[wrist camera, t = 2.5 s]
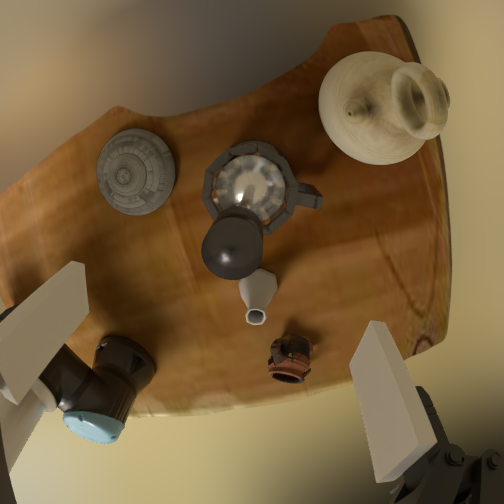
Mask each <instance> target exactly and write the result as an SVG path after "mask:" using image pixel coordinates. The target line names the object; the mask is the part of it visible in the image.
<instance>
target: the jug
mask: <svg viewBox="0 0 504 504" xmlns="http://www.w3.org/2000/svg"><path fill="white" fill-rule="evenodd" d="M449 106H450V97H449V93H448V90H447V88H446V86H445V84H444V83H443V81H442V80H441V79H439V78H437V77H436V76H435V75H434V73H433V72H432V71H431V70H429V69H428V68H427V67H425V66H423V65H421V64H419V63H415V62H407V63H405V62H403V61H402V60H400V59H398V58H396V57H394V56H391V55H389V54H385V53H381V52H373V51H366V52H359V53H355V54H352V55H350V56H347V57H345V58H343V59H342V60H340V61H339V62H338V63H336V64H335V65H334V66H333V67H332V68H331V69H330V70H329V71H328V73H327V74H326V76H325V78H324V80H323V82H322V84H321V88H320V92H319V114H320V118H321V122H322V124H323V127H324V129H325V131H326V133H327V134H328V136H329V137H330V138H331V140H332V141H333V142H334V143H335V144H336V145H337V146H338V147H339V148H340V149H341V150H342V151H343V152H345V153H346V154H347V155H349V156H351V157H352V158H354V159H356V160H359V161H361V162H364V163H368V164H375V165H386V164H393V163H397V162H400V161H403V160H405V159H407V158H409V157H410V156H412V155H413V154H414V153H415V152H417V151H418V150H419V149H420V148H421V146H422V145H423V144H424V142H425V141H426V139H432V138H434V137H436V136H437V135H439V134H440V133H441V131H442V130H443V128H444V127H445V124H446V121H447V115H448V108H449Z"/></svg>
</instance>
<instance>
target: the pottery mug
mask: <svg viewBox="0 0 504 504" xmlns="http://www.w3.org/2000/svg"><path fill="white" fill-rule="evenodd" d="M270 351H271V355H272V356H273V359H274V361H273V360H271V359H269V360H268V368H269V371H268V375H270V376H271V375H272V374H273V376H272V378H274V379H276V380H278V381H282V382H286V383H294V384H298V383H302V382H303V381H304V377H305V376H306V375H308V374H309V372H310V371H311V368H310V369H309V370H308V371H306V370H307V369H308V368H309V366H310V362H309V358H310V354H313V344H312V343H311V342H310V341H309V340H307V339H306V338H303V337H301V336H296V335H291V338H290V341H288V340H287V339H281V338H279V339H276V340H275V341H274V342H273V343H272V345H271V349H270ZM289 353H292V357H288V354H289ZM274 362H276V363H278V364H275V363H274ZM305 371H306V372H305Z"/></svg>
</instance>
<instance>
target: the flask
mask: <svg viewBox="0 0 504 504" xmlns="http://www.w3.org/2000/svg"><path fill="white" fill-rule="evenodd" d="M238 285H239V290H240V294H241V297H242V299H243V300H244V302H245V303H246V305H247V307H248V311H247V313H246V314H245V316H246V320H247V322H248V323H250V324H253V325H260V324H263V323H264V321H265V320H266V313H265V309H266V306H267V305H268V304H269V302H270V301H271V299H272V298H273V296H274V295H275V293H276V291H277V290H278V286H277V280H276V275H275V274H273V273H270V272H268V271H266V270H264V269H262V268H259V269H256V271H255V272H254V273H252V274H251V275H250V276H248V277H246V278H243V279H240V280H239V282H238Z"/></svg>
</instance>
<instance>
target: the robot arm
mask: <svg viewBox="0 0 504 504" xmlns="http://www.w3.org/2000/svg"><path fill="white" fill-rule="evenodd" d="M89 313H90V312H89V304H88V296H87V287H86V277H85V264H83V263H79V262H75V261H71V262H69V263H68V264H67V265H66V266H64V267H63V268H62V269H61V270H59V271H58V272H57V273H56V274H55V275H53V276H52V277H51V278H50V279H49V280H47V281H46V282H45V283H44V284H43V285H41V286H40V287H39V288H38V289H37V290H36V291H34V292H33V293H32V294H31V295H30V296H29V297H28V298H27V299H25V300H24V301H23V302H22V303H21V304H20V305H19V306H18V305H15V306H13V307H10V308H8V309H6V310H5V311H4V312H3V313H2V314H1V315H0V390H1V391H0V504H17V503H16V500H15V496H14V492H13V488H12V485H11V481H10V476H9V473H10V471H11V469H12V467H13V465H14V463H15V462H16V460H17V458H18V456H19V454H20V452H21V451H22V449H23V447H24V445H25V444H26V442H27V440H28V438H29V437H30V435H31V433H32V432H33V430H34V428H35V426H36V425H37V423H38V421H39V420H40V418H41V417H42V415H43V413H44V412H52V411H55V410H56V408H57V407H58V408H59V409H61V410H62V411H63V412H64V414H63V422H64V423H65V424H66V425H67V427H68V428H69V429H70V430H71V431H73V432H74V433H76V434H77V435H79V436H81V437H83V438H85V439H88V440H90V441H93V442H97V443H102V444H109V443H113V442H115V441H116V440H117V439H118V437H119V435H120V433H121V431H122V430H123V429H124V427H125V426H124V425H125V422H126V420H127V418H128V415H129V413H130V410H131V408H132V405H133V403H134V401H135V398H136V396H137V395H138V394H139V393H140V392H141V391H142V390H143V389H144V388H145V387H146V386H147V385H148V384H149V383H150V382H151V380H152V378H153V376H154V373H155V365H154V362H153V360H152V358H151V357H150V355H149V354H148V353H147V352H146V351H145V350H144V349H143V348H142V347H141V346H139V345H138V344H137V343H135V342H133V341H131V340H129V339H127V338H124V337H120V336H109V337H106V338H104V339H103V340H102V341H101V342H100V343H99V345H98V346H97V348H96V351H95V356H94V361H93V367H92V369H91V368H90V367H89V366H88V365H87V364H86V363H84V362H83V361H82V360H81V359H80V358H79V357H78V356H77V355H76V354H75V353H74V352H73V351H72V350H71V349H70V348H69V347H68V346H67V345H66V344H65V342H66V341H67V339H68V338H69V337H70V336H71V334H72V333H73V332H74V331H75V329H76V328H77V327H78V326H79V325H80V323H81V322H82V321H83V320H84V319H85V317H86V316H87V315H88V314H89ZM349 366H350V370H351V374H352V378H353V381H354V385H355V389H356V393H357V397H358V401H359V405H360V409H361V413H362V417H363V422H364V426H365V430H366V435H367V439H368V444H369V448H370V453H371V458H372V463H373V467H374V472H375V477H376V482H377V483H380V482H388V481H394V480H395V479H397V478H398V477H399V476H400V475H401V474H403V476H404V481H403V482H401V483H400V484H399V485H397V486H396V487H395V488H393V489H392V490H391V491H390V493H391V494H392V493H393V492H395V491H396V490H397V491H396V492H395V494H394V496H393V497H392V499H391V501H390V503H389V504H504V460H503V458H502V456H501V454H499V452H498V451H496V450H494V449H488V450H486V451H485V452H484V453H482V454H481V455H480V456H479V457H476V456H468V455H465V453H464V451H463V450H462V449H461V448H460V447H459V446H457V445H454V444H450V443H449V441H448V439H447V436H446V434H445V431H444V429H443V426H442V424H441V422H440V420H439V417H438V415H437V412H436V410H435V407H433V403H432V401H431V398H430V396H429V395H428V393H427V392H426V391H425V390H424V389H423V388H422V387H421V386H415V385H414V383H413V381H412V378H411V376H410V374H409V372H408V370H407V367H406V365H405V363H404V361H403V359H402V357H401V354H400V352H399V350H398V348H397V346H396V344H395V342H394V340H393V338H392V336H391V334H390V332H389V330H388V328H387V326H386V324H385V322H379V321H372V320H370V322H369V324H368V327H367V329H366V331H365V333H364V335H363V337H362V339H361V342H360V344H359V346H358V348H357V350H356V352H355V354H354V356H353V358H352V360H351V362H350V364H349ZM469 497H471V503H469Z"/></svg>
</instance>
